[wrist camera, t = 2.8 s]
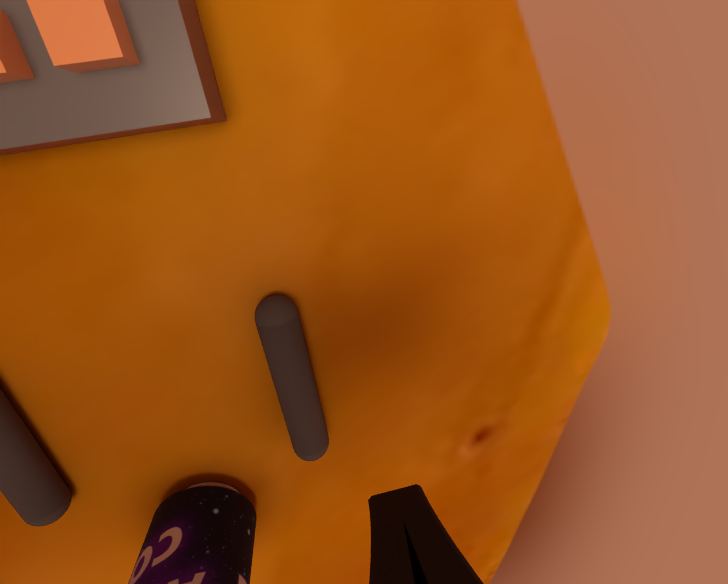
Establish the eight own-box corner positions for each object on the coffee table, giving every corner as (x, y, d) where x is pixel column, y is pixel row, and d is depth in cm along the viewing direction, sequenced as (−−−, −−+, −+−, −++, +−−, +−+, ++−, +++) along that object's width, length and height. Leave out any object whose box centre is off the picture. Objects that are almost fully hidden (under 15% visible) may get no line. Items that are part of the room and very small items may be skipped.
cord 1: (47, 504, 21) (23, 539, 19) (-62, 354, 17) (-106, 381, 15) (85, 495, 21) (65, 529, 19) (-14, 345, 17) (-52, 370, 15)
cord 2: (297, 445, 22) (297, 473, 20) (252, 293, 18) (247, 310, 16) (330, 437, 22) (333, 464, 20) (293, 285, 18) (292, 301, 16)
